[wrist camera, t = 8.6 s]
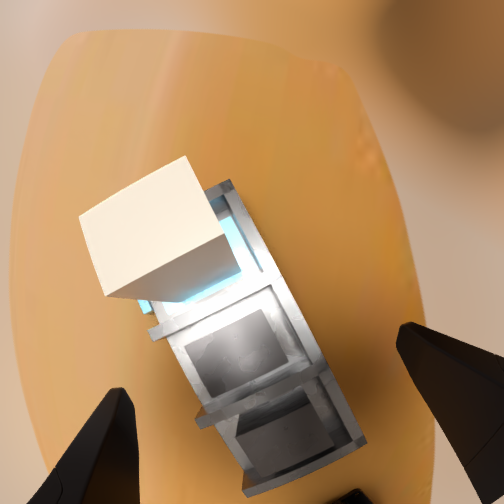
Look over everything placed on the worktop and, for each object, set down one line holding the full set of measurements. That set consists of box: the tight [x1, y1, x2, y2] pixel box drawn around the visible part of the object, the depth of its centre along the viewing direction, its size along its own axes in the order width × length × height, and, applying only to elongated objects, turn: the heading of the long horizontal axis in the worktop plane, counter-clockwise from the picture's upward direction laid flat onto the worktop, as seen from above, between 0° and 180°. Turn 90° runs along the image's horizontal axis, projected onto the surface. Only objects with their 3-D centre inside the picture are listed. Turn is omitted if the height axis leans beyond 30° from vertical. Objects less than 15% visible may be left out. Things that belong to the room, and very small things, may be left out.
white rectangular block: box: [79, 156, 241, 303], centre depth 16 cm, size 4×5×11 cm
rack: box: [138, 179, 367, 498], centre depth 19 cm, size 20×10×5 cm, turn 27°
